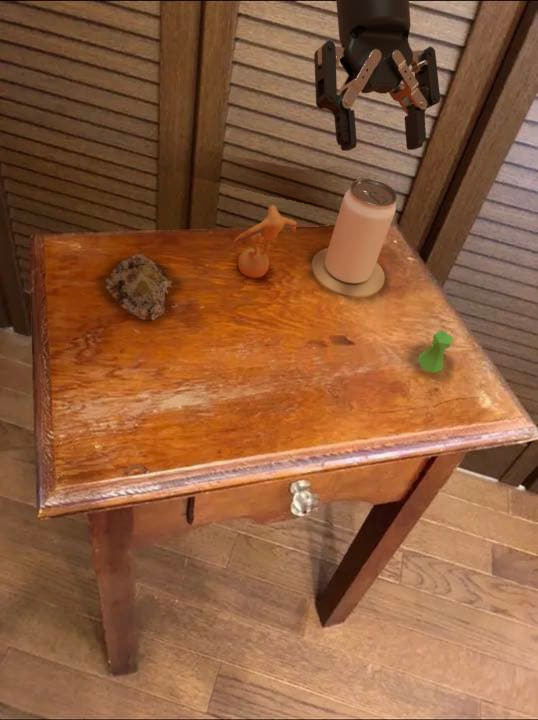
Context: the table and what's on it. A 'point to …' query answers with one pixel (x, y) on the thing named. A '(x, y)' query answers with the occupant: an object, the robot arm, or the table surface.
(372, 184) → the can
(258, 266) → the figurine
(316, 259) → the ash disc
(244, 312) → the table surface
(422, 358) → the game piece
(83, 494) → the table surface
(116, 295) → the mineral rock
